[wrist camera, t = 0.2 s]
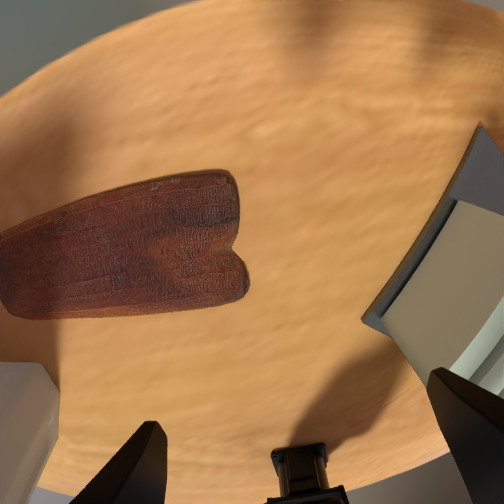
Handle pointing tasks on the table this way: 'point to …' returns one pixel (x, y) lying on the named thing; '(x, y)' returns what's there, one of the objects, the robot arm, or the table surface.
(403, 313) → the two-slot toaster
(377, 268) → the table surface
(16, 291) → the wooden tablet
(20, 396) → the paper bag
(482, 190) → the base plate
